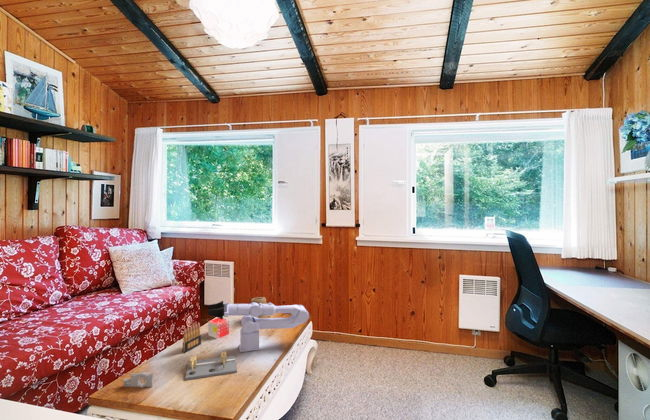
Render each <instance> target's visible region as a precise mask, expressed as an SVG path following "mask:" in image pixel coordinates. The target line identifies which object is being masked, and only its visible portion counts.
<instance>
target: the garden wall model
mask: <svg viewBox="0 0 650 420" xmlns="http://www.w3.org/2000/svg"><path fill="white" fill-rule="evenodd" d="M155 374H156V372H155V373H149V372H146V371H141V372H138V373H130V375H129V376H130V378H126V377H125V378H123V381H122V382H123V388H129V387H130V388H153V387H154V385H155Z"/></svg>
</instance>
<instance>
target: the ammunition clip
mask: <svg viewBox="0 0 650 420" xmlns="http://www.w3.org/2000/svg"><path fill="white" fill-rule="evenodd" d="M183 330H184V331H183V338H182V339H183V342H182V350H181V351H182V353H184V354H185V353H188V352H190V351H191V350H193V349H196V348H197V347H199V346H201V345H202V335H201V324H200V322H199V321H198V322H197V323H195V324H192V325H190V326H187V327H186V328H184V329H183Z"/></svg>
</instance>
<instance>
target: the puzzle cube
mask: <svg viewBox="0 0 650 420" xmlns="http://www.w3.org/2000/svg"><path fill="white" fill-rule="evenodd" d="M207 326H208V327H207V331H208V332H207V333H208V334H207V335H208V336H209V337H212V338H214V339H216V340H218V339H221V338H222V337H225V336H229V334H230V320H229V319H226V318H225V317H223V319H220V318H218V317H216V318H214V319H210V320H208V323H207Z"/></svg>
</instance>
